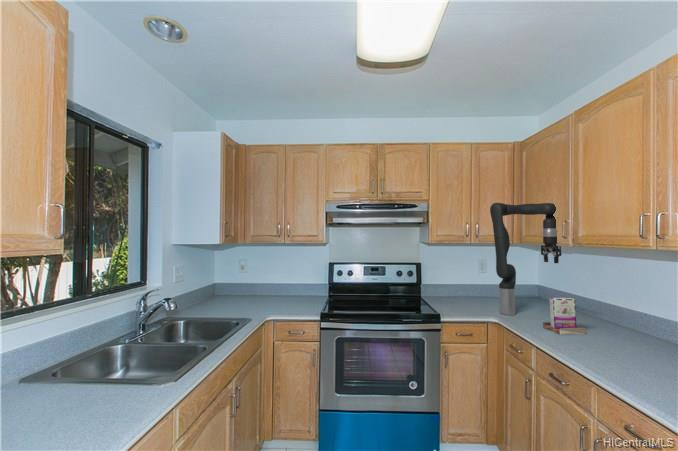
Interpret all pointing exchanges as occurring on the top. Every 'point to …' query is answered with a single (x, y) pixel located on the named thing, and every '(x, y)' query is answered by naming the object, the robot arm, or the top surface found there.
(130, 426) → the top surface
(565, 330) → the shelf
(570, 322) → the candy bar box
